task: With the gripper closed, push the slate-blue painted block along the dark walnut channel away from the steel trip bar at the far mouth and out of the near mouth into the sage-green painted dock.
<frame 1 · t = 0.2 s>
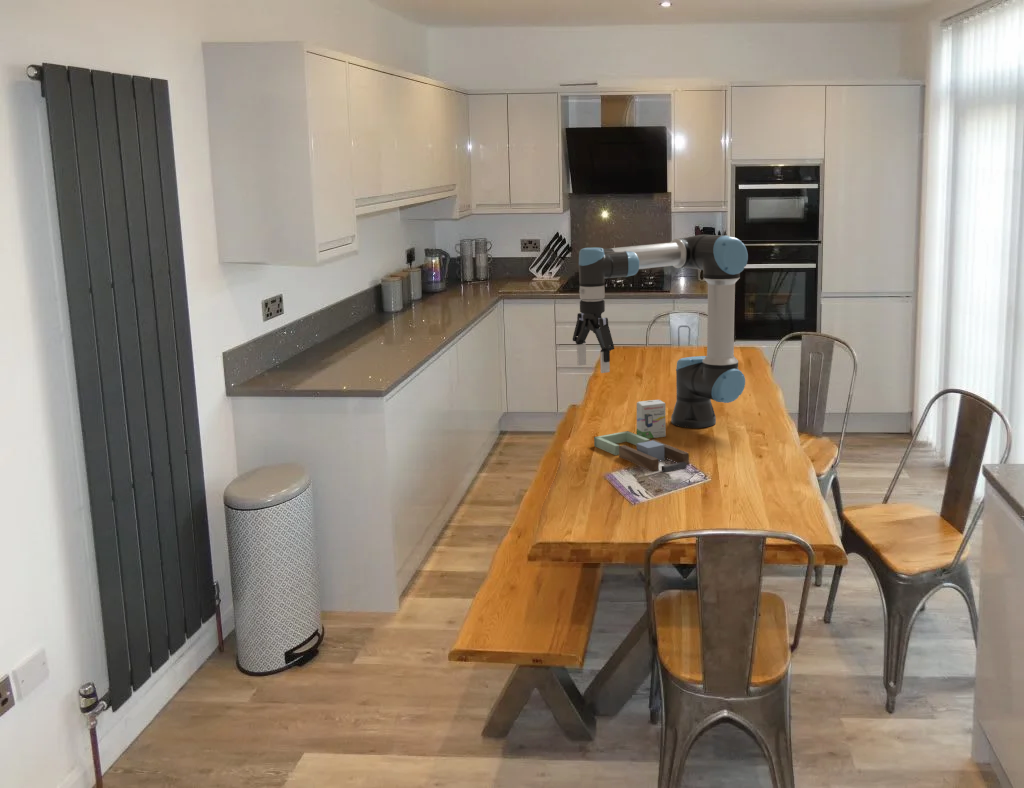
hand: (593, 368, 309), 28 cm above the table, fingers open, 13 cm apart
block: (650, 459, 309), on the table
trip bar: (674, 469, 299), on the table
ink box: (651, 437, 334), on the table
dock: (624, 448, 322), on the table
channel: (653, 460, 308), on the table
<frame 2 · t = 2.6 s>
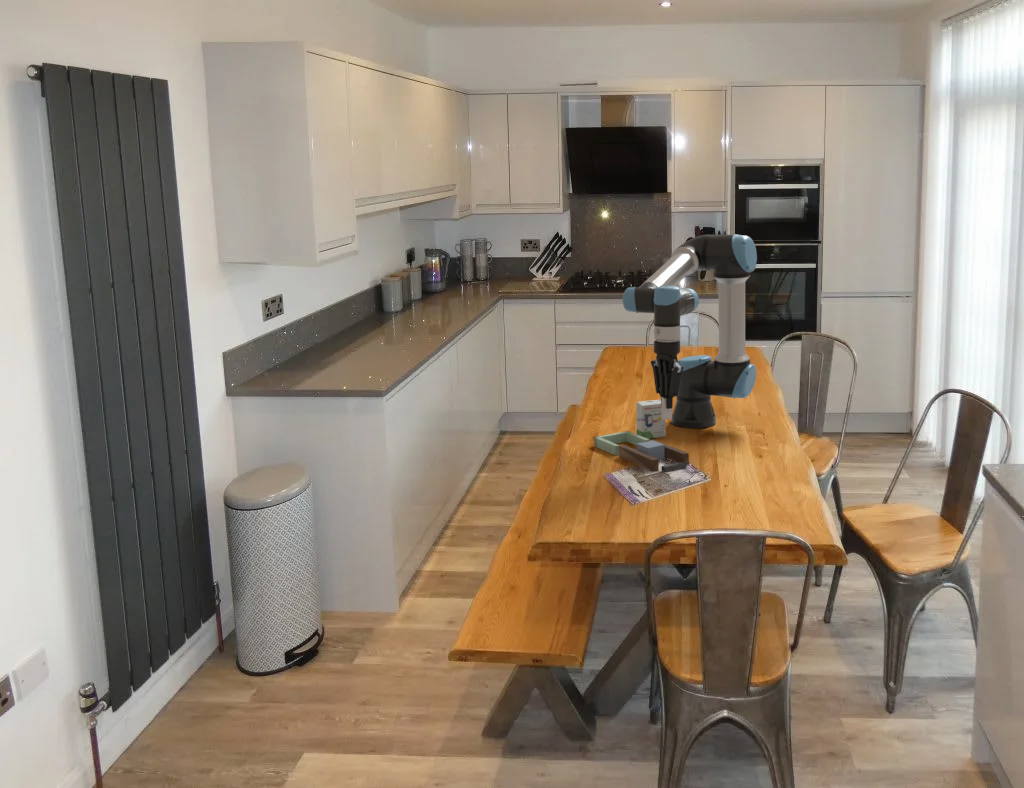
hand: (666, 418, 298), 15 cm above the table, fingers closed
nothing on the table moved.
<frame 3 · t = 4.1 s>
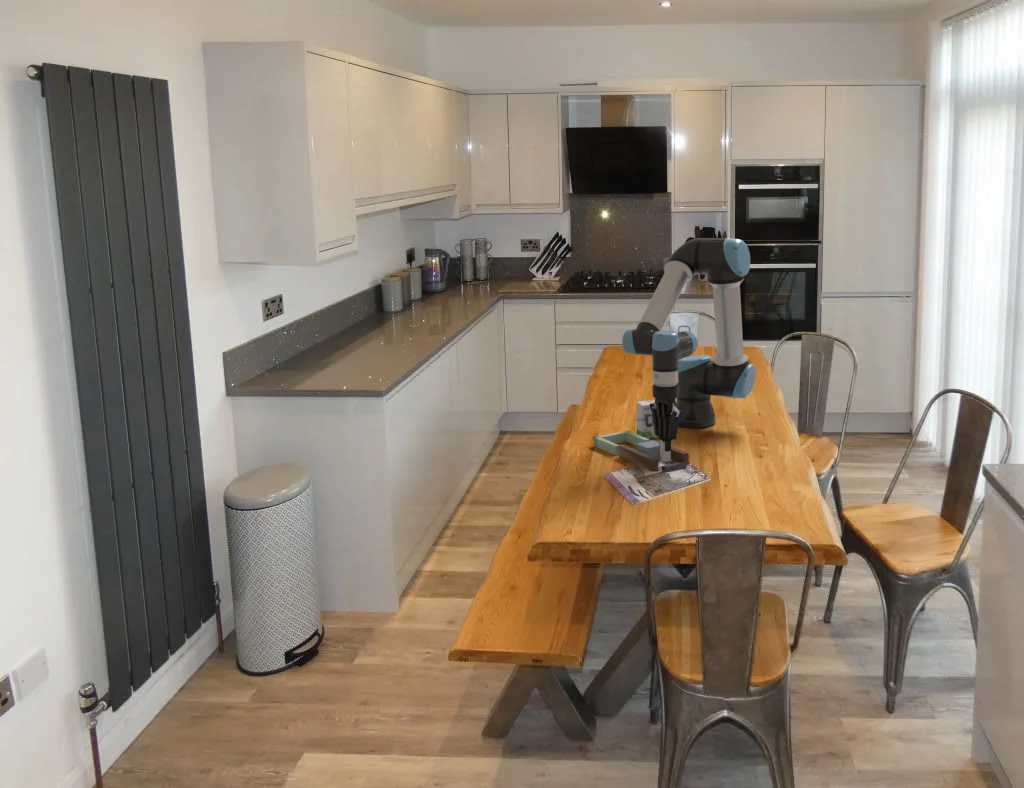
hand: (665, 460, 302), 2 cm above the table, fingers closed
nothing on the table moved.
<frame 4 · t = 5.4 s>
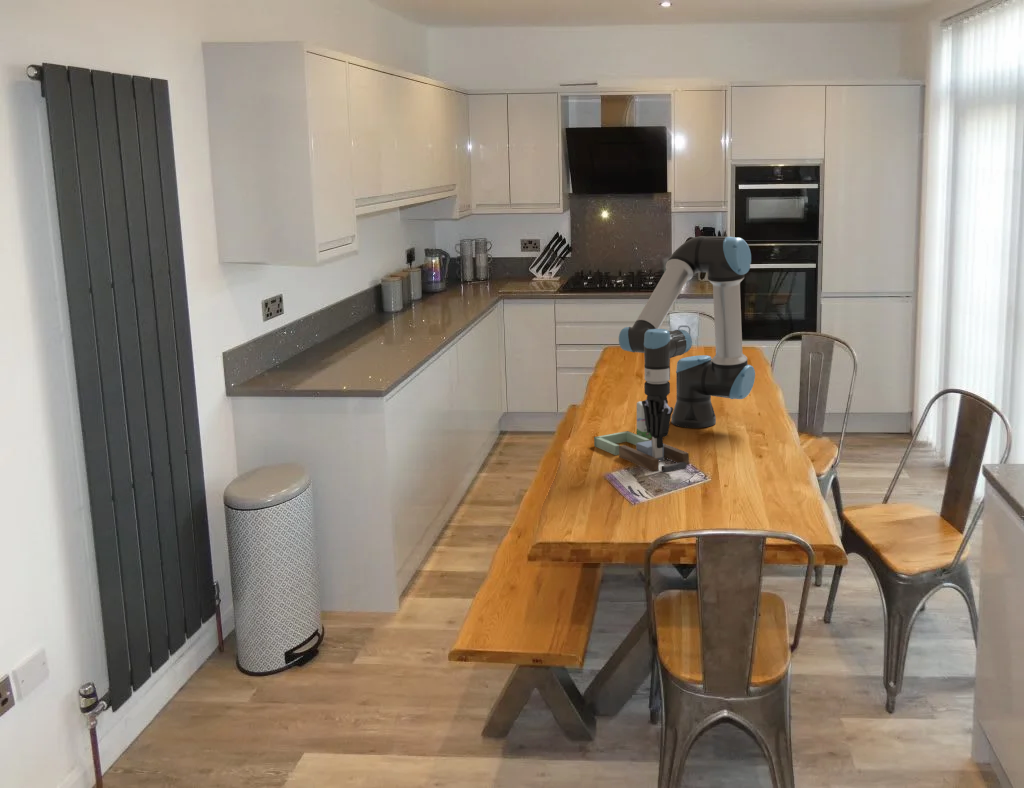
hand: (657, 457, 306), 2 cm above the table, fingers closed
block: (650, 459, 309), on the table, touching gripper
everything else where it was.
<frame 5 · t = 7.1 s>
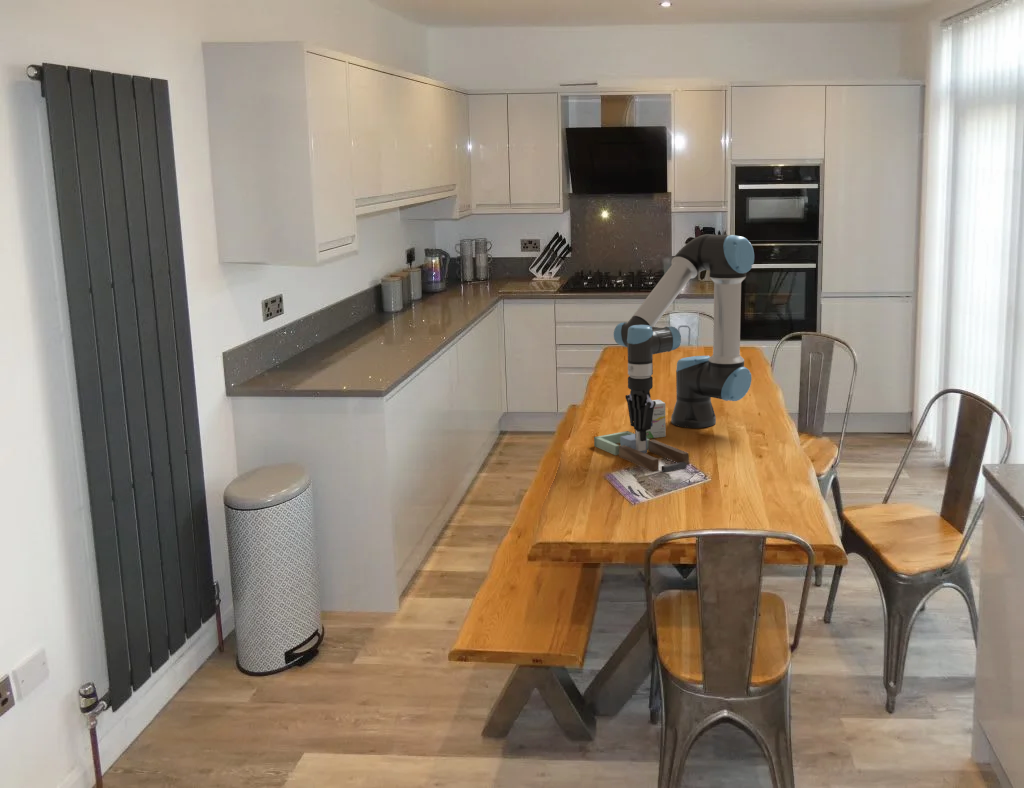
hand: (640, 450, 313), 2 cm above the table, fingers closed
block: (633, 452, 317), on the table, touching gripper
everything else where it was.
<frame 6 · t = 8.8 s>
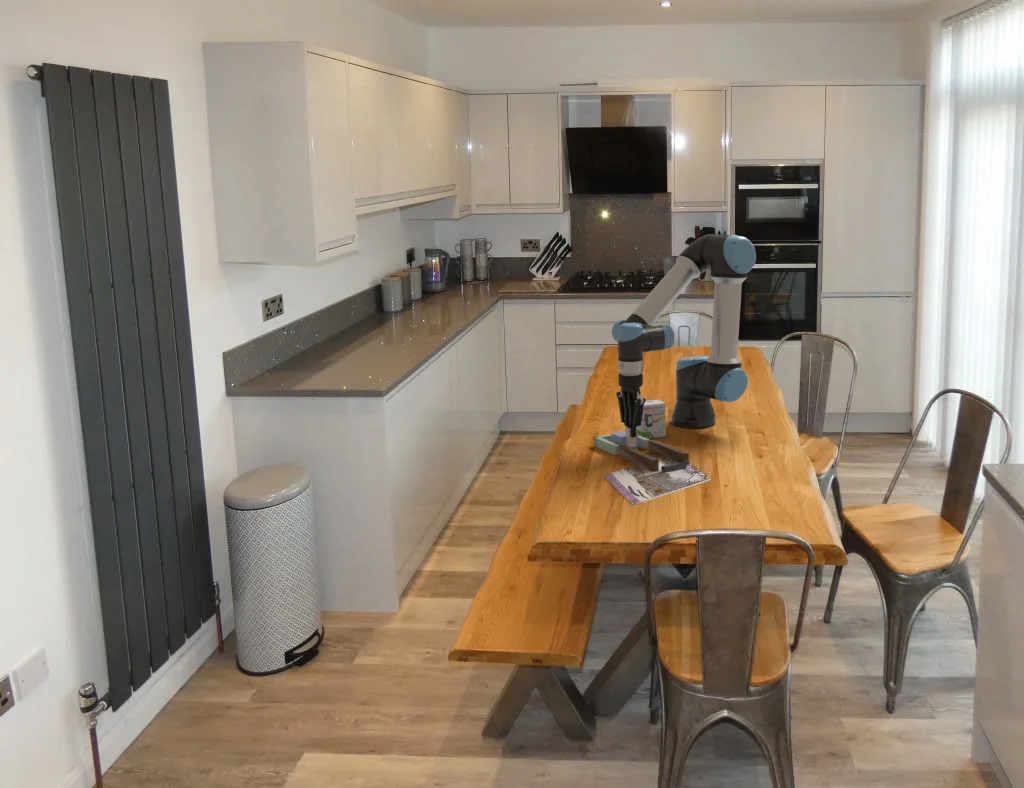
hand: (631, 446, 318), 2 cm above the table, fingers closed
block: (624, 449, 321), on the table, touching gripper
everything else where it was.
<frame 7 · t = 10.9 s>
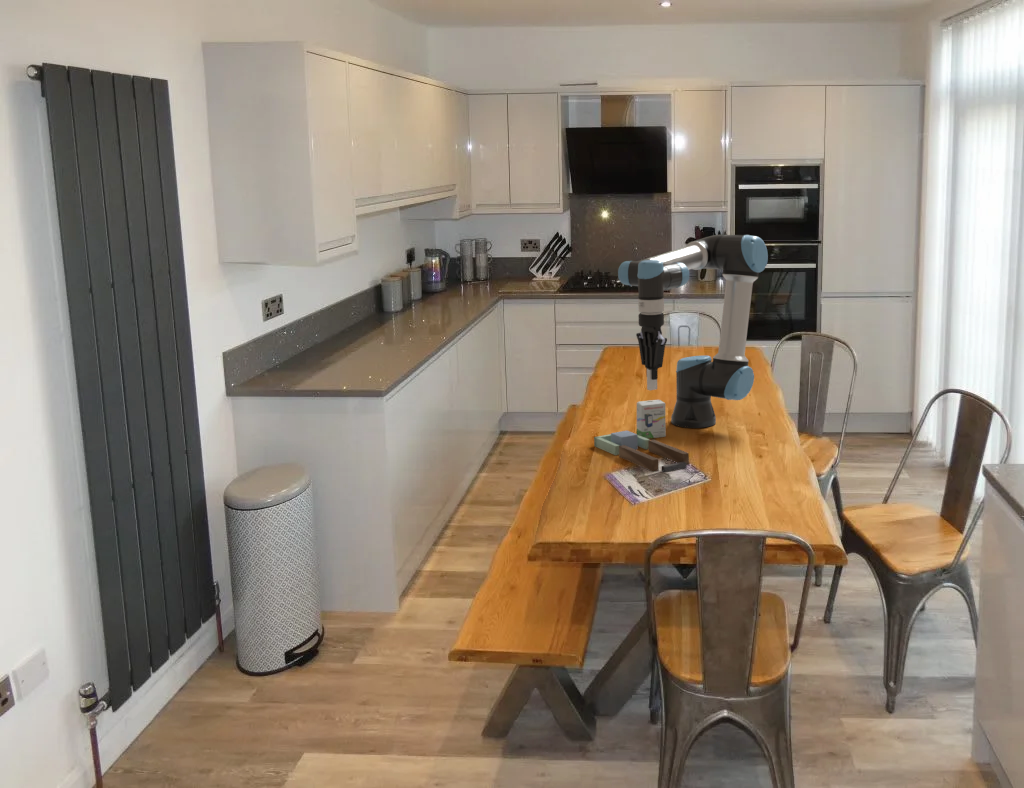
hand: (652, 389, 307), 21 cm above the table, fingers closed
block: (624, 449, 321), on the table
everything else where it was.
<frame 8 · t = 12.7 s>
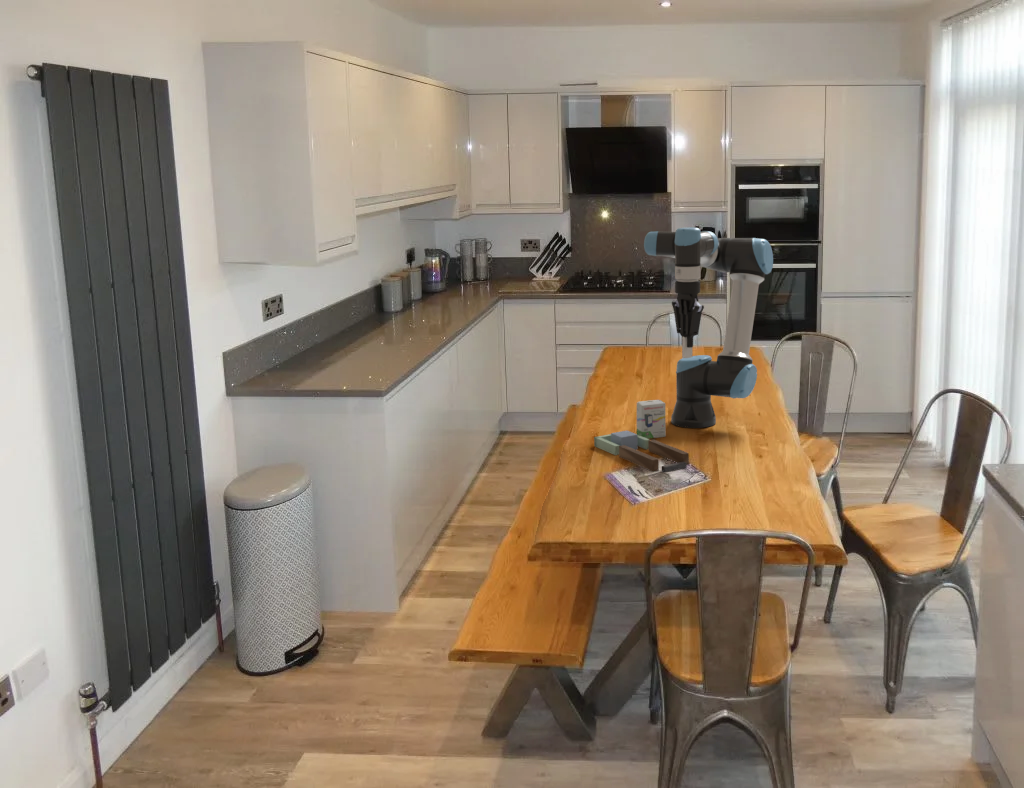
hand: (687, 357, 307), 30 cm above the table, fingers closed
nothing on the table moved.
at the end: block inside the target area (0.3 cm from its centre), on the table; block tilted 0°; block moved 14.2 cm from its start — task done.
